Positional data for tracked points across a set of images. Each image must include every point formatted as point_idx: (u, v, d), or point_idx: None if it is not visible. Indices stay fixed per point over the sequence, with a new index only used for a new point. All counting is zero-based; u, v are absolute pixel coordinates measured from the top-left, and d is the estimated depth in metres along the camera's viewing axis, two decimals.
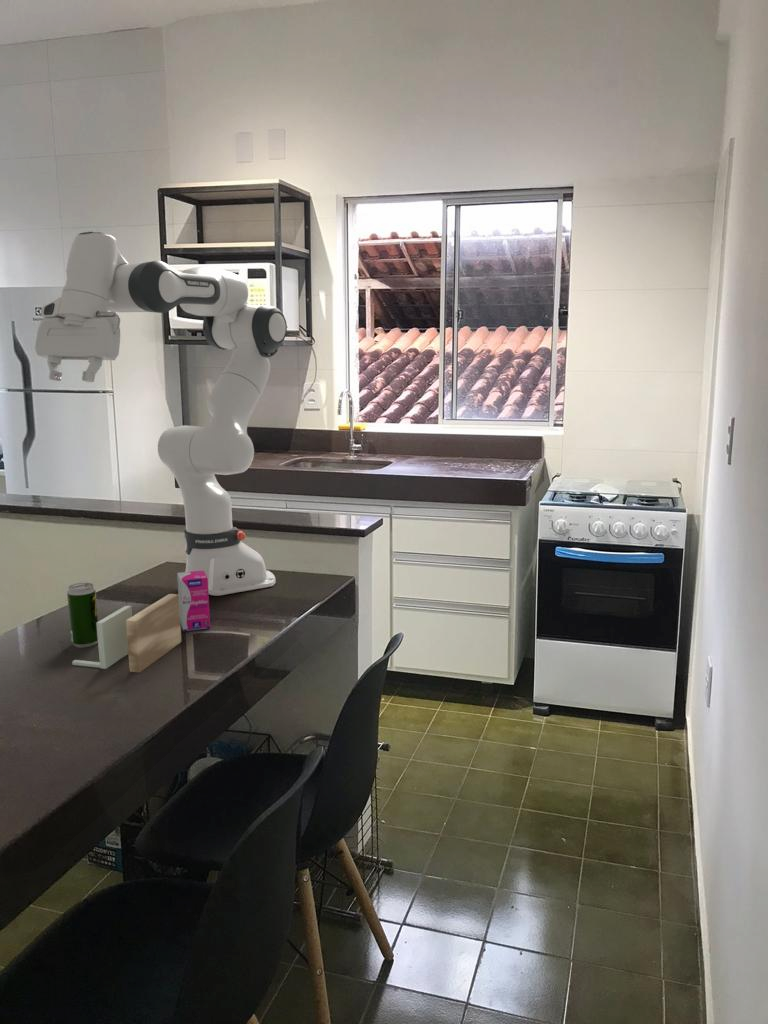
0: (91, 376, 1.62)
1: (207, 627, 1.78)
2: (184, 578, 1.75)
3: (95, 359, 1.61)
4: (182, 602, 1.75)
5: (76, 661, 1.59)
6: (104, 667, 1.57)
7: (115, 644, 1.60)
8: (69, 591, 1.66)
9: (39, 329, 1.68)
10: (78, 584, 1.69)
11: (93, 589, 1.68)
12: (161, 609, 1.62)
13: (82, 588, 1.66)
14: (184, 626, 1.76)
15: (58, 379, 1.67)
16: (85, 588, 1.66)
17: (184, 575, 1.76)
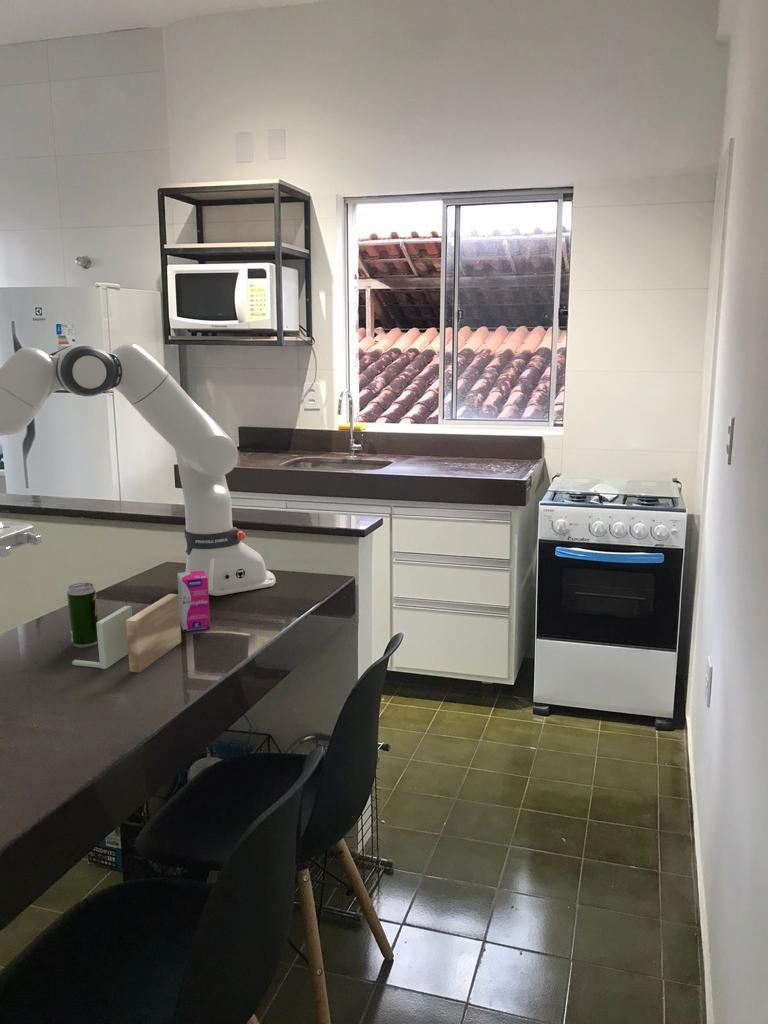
0: (1, 551, 1.64)
1: (207, 627, 1.78)
2: (184, 578, 1.75)
3: None
4: (182, 602, 1.75)
5: (76, 661, 1.59)
6: (104, 667, 1.57)
7: (115, 644, 1.60)
8: (69, 591, 1.66)
9: None
10: (78, 584, 1.69)
11: (93, 589, 1.68)
12: (161, 609, 1.62)
13: (82, 588, 1.66)
14: (184, 626, 1.76)
15: (36, 539, 1.73)
16: (85, 588, 1.66)
17: (184, 575, 1.76)
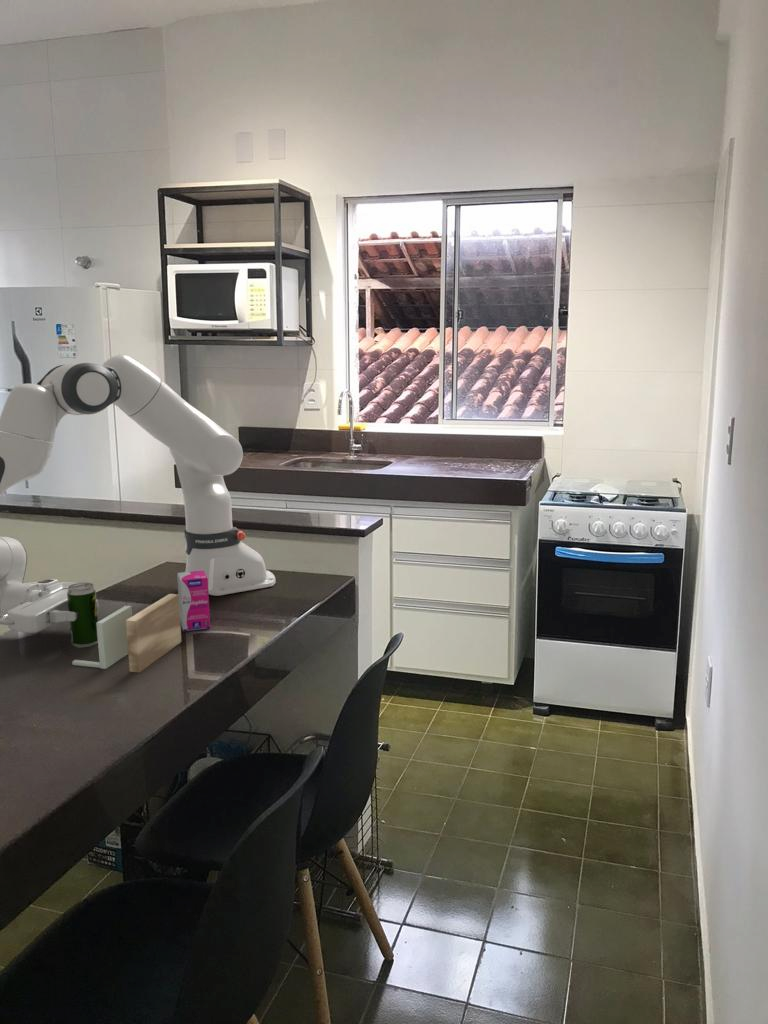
0: (69, 616, 1.65)
1: (207, 627, 1.78)
2: (184, 578, 1.75)
3: (52, 620, 1.65)
4: (182, 602, 1.75)
5: (76, 661, 1.59)
6: (104, 667, 1.57)
7: (115, 644, 1.60)
8: (69, 591, 1.66)
9: None
10: (78, 584, 1.69)
11: (93, 589, 1.68)
12: (161, 609, 1.62)
13: (82, 588, 1.66)
14: (184, 626, 1.76)
15: None
16: (85, 588, 1.66)
17: (184, 575, 1.76)
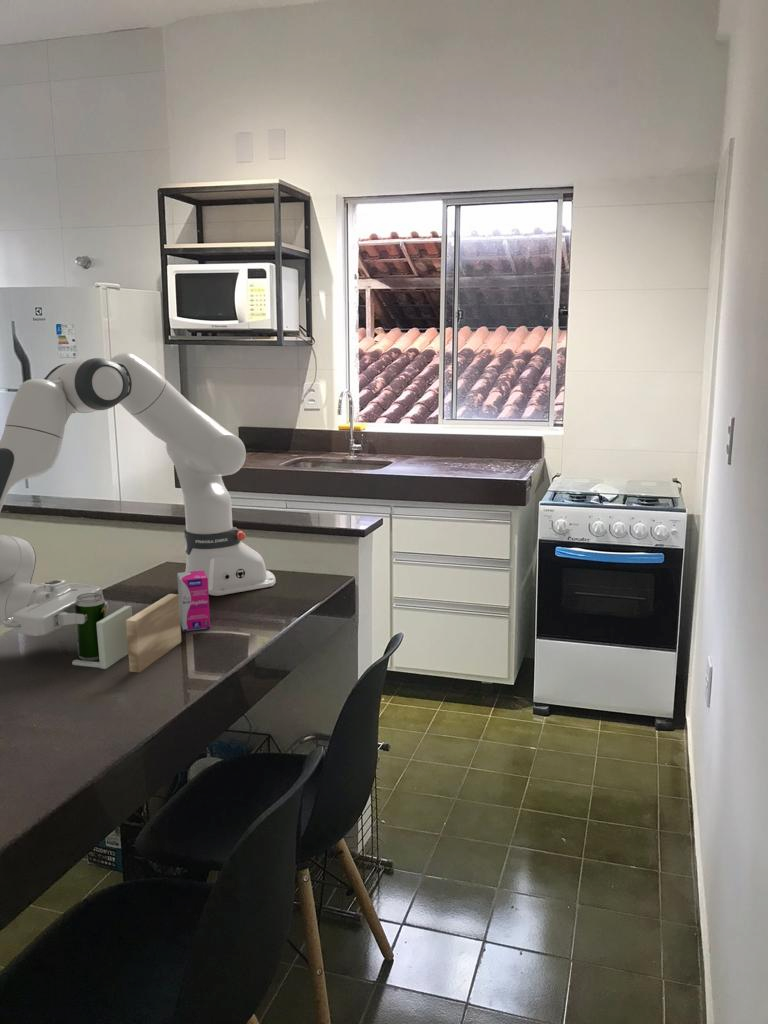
0: (78, 618, 1.58)
1: (207, 627, 1.78)
2: (184, 578, 1.75)
3: (60, 622, 1.57)
4: (182, 602, 1.75)
5: (76, 661, 1.59)
6: (104, 667, 1.57)
7: (115, 644, 1.60)
8: (77, 602, 1.59)
9: None
10: (88, 594, 1.62)
11: (102, 600, 1.61)
12: (161, 609, 1.62)
13: (91, 599, 1.59)
14: (184, 626, 1.76)
15: None
16: (94, 599, 1.59)
17: (184, 575, 1.76)
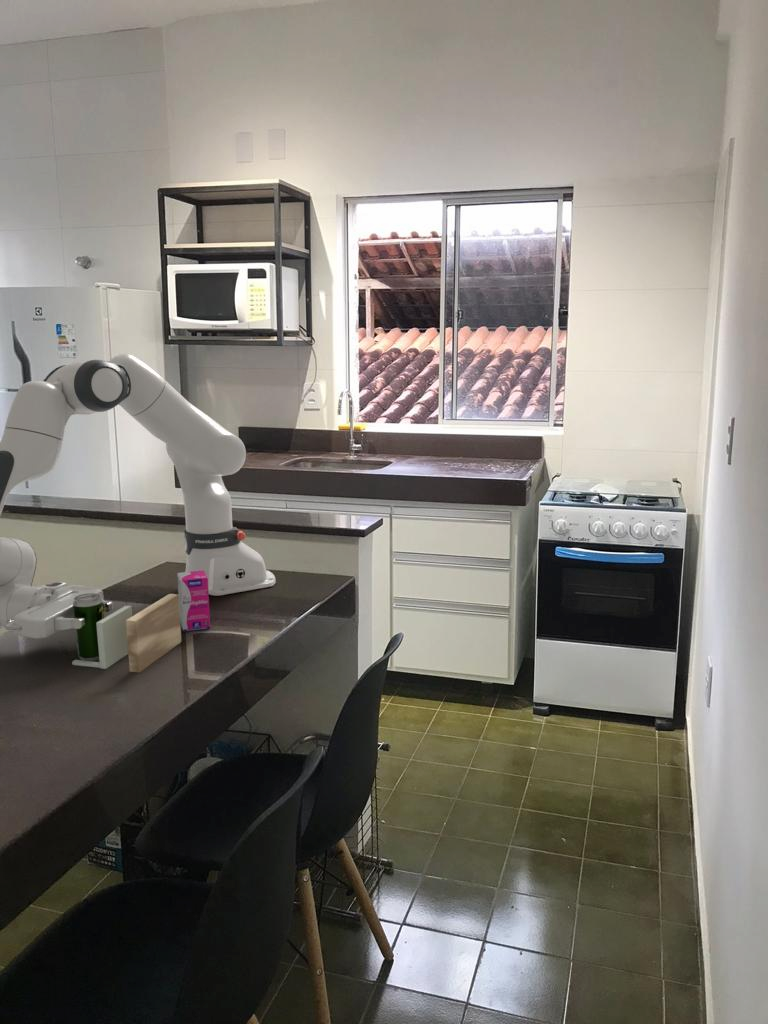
0: (75, 623, 1.56)
1: (207, 627, 1.78)
2: (184, 578, 1.75)
3: (57, 627, 1.56)
4: (182, 602, 1.75)
5: (76, 661, 1.59)
6: (104, 667, 1.57)
7: (115, 644, 1.60)
8: (75, 602, 1.59)
9: None
10: (85, 594, 1.62)
11: (100, 600, 1.61)
12: (161, 609, 1.62)
13: (88, 599, 1.59)
14: (184, 626, 1.76)
15: (107, 606, 1.65)
16: (91, 599, 1.59)
17: (184, 575, 1.76)
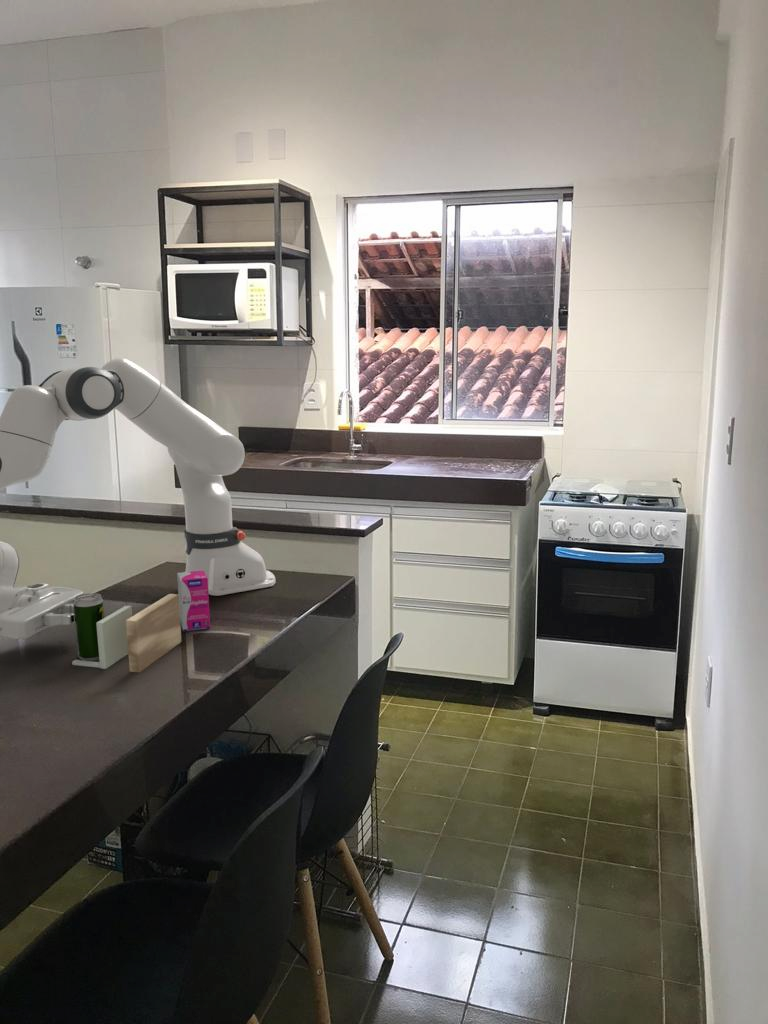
0: (64, 619, 1.60)
1: (207, 627, 1.78)
2: (184, 578, 1.75)
3: (47, 623, 1.60)
4: (182, 602, 1.75)
5: (76, 661, 1.59)
6: (104, 667, 1.57)
7: (115, 644, 1.60)
8: (75, 602, 1.59)
9: None
10: (86, 594, 1.62)
11: (100, 600, 1.61)
12: (161, 609, 1.62)
13: (88, 599, 1.59)
14: (184, 626, 1.76)
15: None
16: (92, 599, 1.59)
17: (184, 575, 1.76)
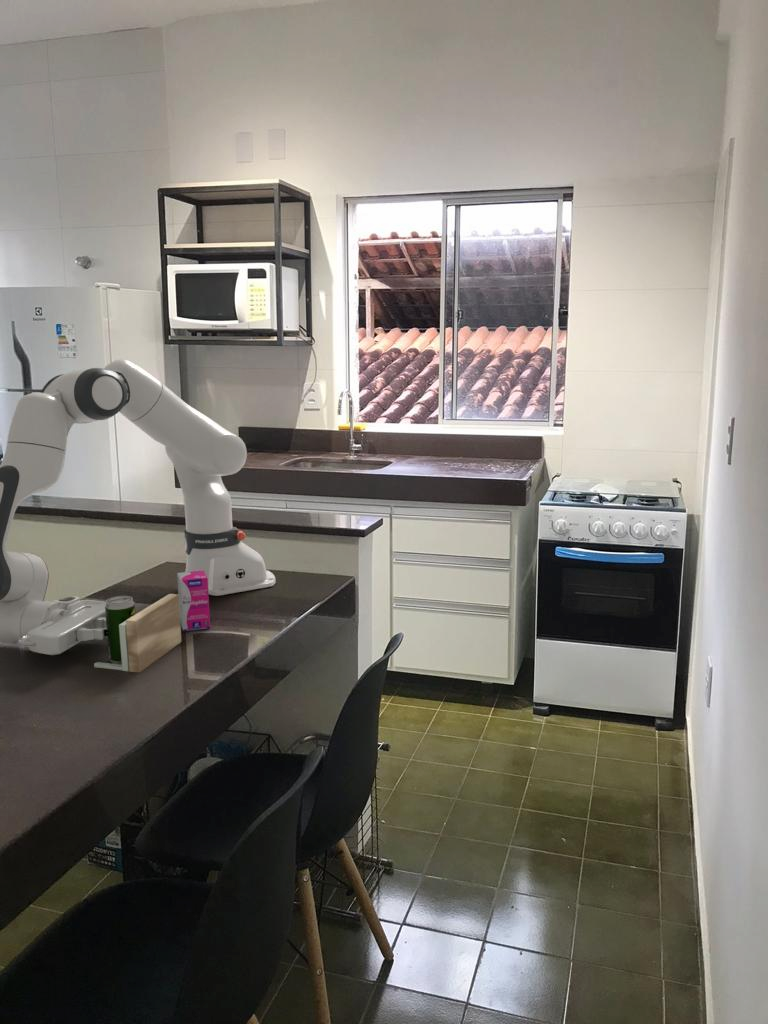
0: (97, 634, 1.59)
1: (207, 627, 1.78)
2: (184, 578, 1.75)
3: (80, 638, 1.59)
4: (182, 602, 1.75)
5: (98, 664, 1.58)
6: (126, 669, 1.56)
7: None
8: (107, 605, 1.58)
9: None
10: (117, 597, 1.61)
11: (132, 603, 1.59)
12: (161, 609, 1.62)
13: (120, 602, 1.58)
14: (184, 626, 1.76)
15: None
16: (123, 602, 1.58)
17: (184, 575, 1.76)
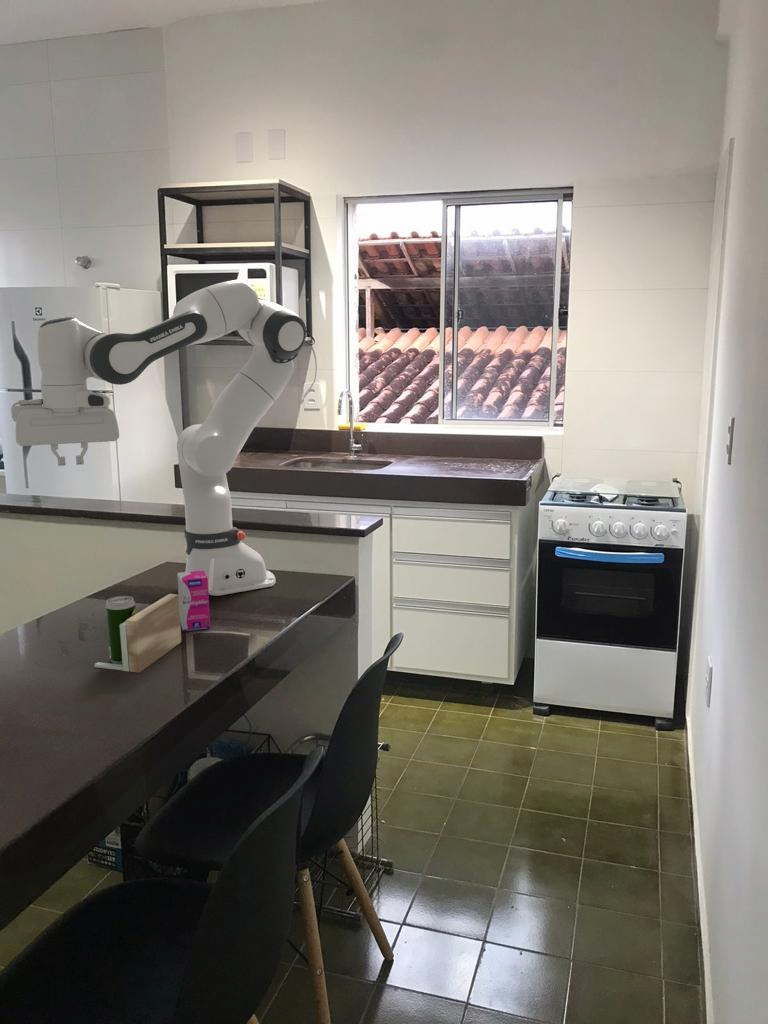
0: None
1: (207, 627, 1.78)
2: (184, 578, 1.75)
3: None
4: (182, 602, 1.75)
5: (99, 664, 1.58)
6: (127, 670, 1.56)
7: None
8: (107, 605, 1.58)
9: None
10: (118, 597, 1.61)
11: (132, 603, 1.59)
12: (161, 609, 1.62)
13: (121, 602, 1.58)
14: (184, 626, 1.76)
15: None
16: (124, 602, 1.58)
17: (184, 575, 1.76)
